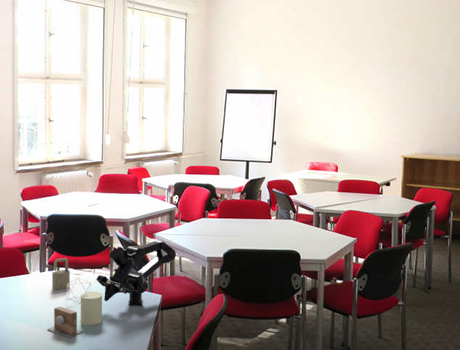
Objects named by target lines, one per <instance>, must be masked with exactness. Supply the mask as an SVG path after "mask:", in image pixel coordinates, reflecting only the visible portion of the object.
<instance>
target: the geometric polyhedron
mask: <svg viewBox="0 0 460 350" xmlns="http://www.w3.org/2000/svg"><path fill="white" fill-rule="evenodd" d="M74 281H75V282H74ZM77 281H78V283H77ZM81 281H84V282H81ZM72 282H74V283H73V284H72ZM76 284H77V285H81V286H82V288H83V289H84V291H85V292H84V293H86V292H88V290H91V286H92V282H90V281H88V280H85V279H82V278H80V277H76V278H75V279H73V280H72V281H70V284H69V283H68V284H67V285H72V287H71V288H70V287H69V286H68V287H67V288H69V290H70V291H69V292H68V293H67V295H66V299H67V300H69V301H72V302H73V303H75V304H79V305H81V300H80V302H79V300H78V299H77V298H80V296H76V295H75V294H74V292H73V291H72V290H73V288H74V286H75V285H76ZM83 284H84V285H86V284H89V285H88V287H87V288H85V286H84V285H83ZM70 293H71V294H72V295H73V296H74V297H71V298H69V295H70ZM74 298H75V300H76V301H74V300H72V299H74Z"/></svg>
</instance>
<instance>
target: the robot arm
mask: <svg viewBox="0 0 460 350" xmlns="http://www.w3.org/2000/svg"><path fill="white" fill-rule="evenodd" d="M154 252H156V255H155V257H154V258H153V259H151V260H150V261H149V262H148V263H147V264H145V265H144V266H143V267H142V268H141V269H139V270H138V271H136V270H132V269H136V268H137V265H136V262H135V261H140V260H142V259H143V258H144V257H145V256H146V255H149V254H151V253H154ZM176 256H177V253H176V251H175V249H174V248H173V247H171V246H170V245H168V244H167V243H166V242H165V241H164V240H158V239H157V240H154V241H152V242H151V241H150V242H148V243H145V244H142V245H138V246H137V245H131V246H127V247H126V248H125V249H124V248H123V247H122V246H117V248H114V249H112V251H110V253H109V258H110V259H111V261H113V263H114V264H116V265H117V268H114V270H113V271H114V273H113V275H112V276H109V277H107V276H105V275H98V276H97V277H96V279H95V280H96V281H97V282H98V283H99V284H100V285H101V286H102V287H104V299H103V301H104V302H108V301H109V300H110V299H111V298H113V296H114V295H116V294H120V293H121V294H125V295H126V294H128V295H129V300H128V304H127V306H143V303H144V302H143V299H142V298H143V293H145V292H146V291H147V286H146V285H145V280H146V279H148V278H149V277H150V276H151V275H152V274H153V273H154V272H156V271H157V270H158V269H159V268H160V267H161V266H163V264H168V263H170V262H172V261H174V260H175V259H176ZM132 260H133V261H132Z"/></svg>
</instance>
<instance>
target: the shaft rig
mask: <svg viewBox="0 0 460 350" xmlns="http://www.w3.org/2000/svg"><path fill="white" fill-rule="evenodd" d="M53 310H54V313H53V314H54V315H53V316H54V317H53V322H54V323H53V324H54V326H52V327H49V328H47V331H49V332H52V333H54V334H57V335H60V336H62V337H65V338H68V339H70V338H74V337H75V336H78V335H80V334H82V333H83V331H82V330H79V329H78V328H77V327H78V325H77V324H78V319H77V318H78V316H77V315H78V314H77V313H78V311H76V310H73V309H69V308H67V307H64V306H58V307H54V309H53Z"/></svg>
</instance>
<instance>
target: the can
mask: <svg viewBox="0 0 460 350" xmlns="http://www.w3.org/2000/svg"><path fill="white" fill-rule="evenodd" d="M85 292H86V291H85ZM85 292H83V293H81V295H80V301H81V303H80V323H81V324H83V325H85V326H94V325H98V324H100V323H102V322H103V293H101V292H99V291H87V292H86V293H85Z"/></svg>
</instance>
